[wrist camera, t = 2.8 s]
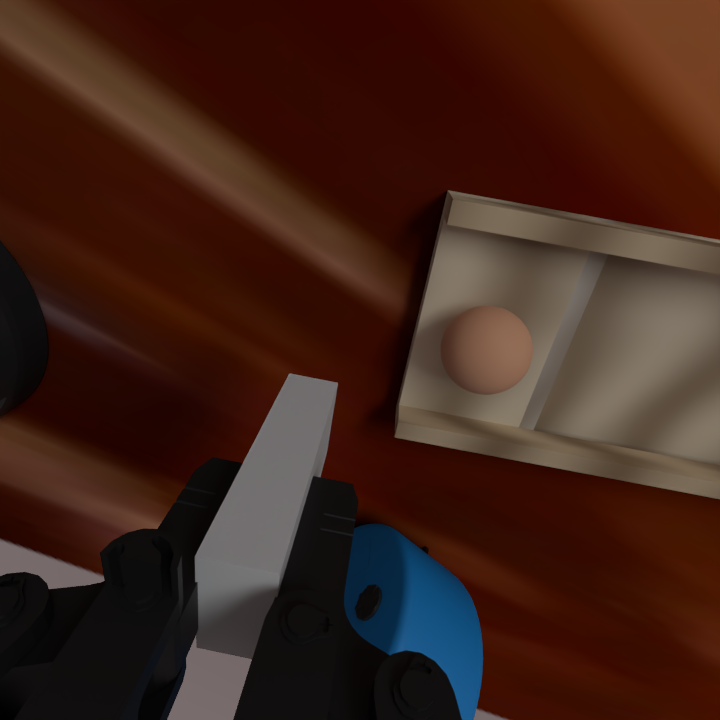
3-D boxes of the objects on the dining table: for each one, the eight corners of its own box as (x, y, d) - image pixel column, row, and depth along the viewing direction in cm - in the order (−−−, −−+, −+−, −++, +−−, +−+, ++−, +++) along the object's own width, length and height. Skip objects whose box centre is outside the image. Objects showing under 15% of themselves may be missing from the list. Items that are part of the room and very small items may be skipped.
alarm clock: (340, 611, 35) (299, 904, 22) (280, 569, 33) (195, 859, 20) (470, 534, 30) (520, 857, 17) (406, 481, 28) (403, 792, 15)
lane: (395, 407, 26) (394, 439, 23) (447, 190, 20) (453, 199, 18) (774, 479, 26) (816, 519, 23) (933, 279, 20) (1013, 302, 17)
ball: (429, 360, 23) (433, 402, 19) (449, 286, 21) (457, 318, 17) (506, 374, 23) (524, 419, 19) (533, 302, 21) (558, 337, 17)
